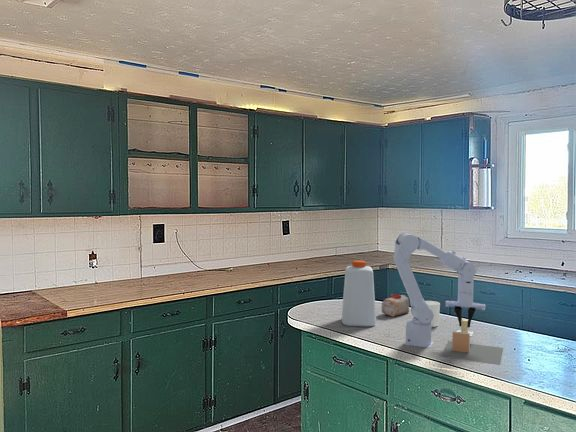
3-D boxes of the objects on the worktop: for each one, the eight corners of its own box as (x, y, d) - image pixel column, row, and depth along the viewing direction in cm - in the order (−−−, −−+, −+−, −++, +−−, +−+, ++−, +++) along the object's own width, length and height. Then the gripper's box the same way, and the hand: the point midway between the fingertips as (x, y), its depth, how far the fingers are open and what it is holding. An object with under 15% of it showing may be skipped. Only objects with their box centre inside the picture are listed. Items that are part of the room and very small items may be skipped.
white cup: (427, 328, 221) (427, 305, 220) (417, 323, 229) (418, 301, 228) (443, 326, 223) (443, 304, 223) (433, 322, 231) (433, 300, 230)
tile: (452, 350, 189) (452, 332, 189) (452, 349, 191) (453, 331, 190) (469, 352, 187) (469, 334, 186) (469, 351, 188) (469, 333, 188)
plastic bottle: (374, 318, 237) (374, 258, 235) (376, 327, 222) (377, 264, 220) (341, 317, 238) (342, 258, 237) (341, 326, 223) (342, 263, 222)
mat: (440, 357, 183) (440, 356, 183) (448, 342, 201) (448, 340, 201) (500, 366, 175) (500, 364, 175) (503, 349, 193) (503, 347, 193)
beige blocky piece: (455, 335, 197) (455, 320, 197) (457, 331, 203) (457, 317, 202) (471, 337, 195) (472, 322, 194) (473, 333, 200) (473, 319, 200)
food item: (393, 318, 237) (394, 297, 237) (380, 315, 243) (380, 294, 243) (410, 313, 246) (410, 293, 246) (397, 310, 252) (397, 290, 252)
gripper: (486, 291, 198) (485, 325, 199) (447, 288, 204) (447, 321, 205) (484, 295, 191) (483, 330, 192) (444, 291, 198) (444, 326, 199)
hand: (464, 326), depth 198 cm, fingers closed on beige blocky piece, 2 cm apart
